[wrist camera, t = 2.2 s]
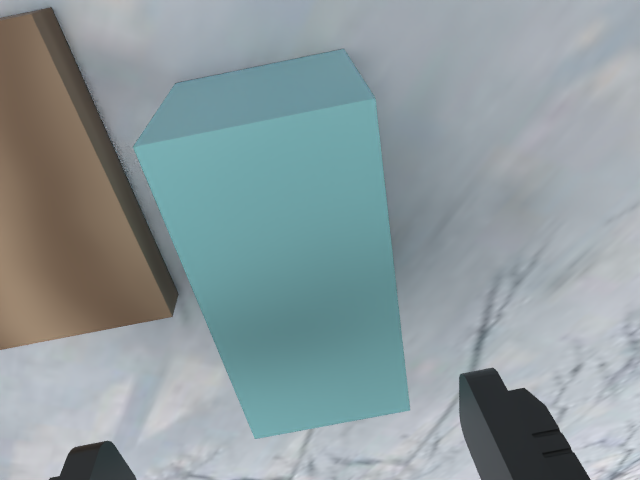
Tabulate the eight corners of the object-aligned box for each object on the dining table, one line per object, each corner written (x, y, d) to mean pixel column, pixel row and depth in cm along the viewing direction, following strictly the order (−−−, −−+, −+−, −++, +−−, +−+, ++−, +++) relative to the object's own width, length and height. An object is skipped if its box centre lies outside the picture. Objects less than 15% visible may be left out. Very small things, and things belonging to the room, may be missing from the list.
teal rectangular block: (343, 48, 16) (375, 98, 11) (379, 306, 23) (410, 410, 18) (175, 83, 17) (132, 146, 12) (258, 329, 23) (254, 438, 18)
